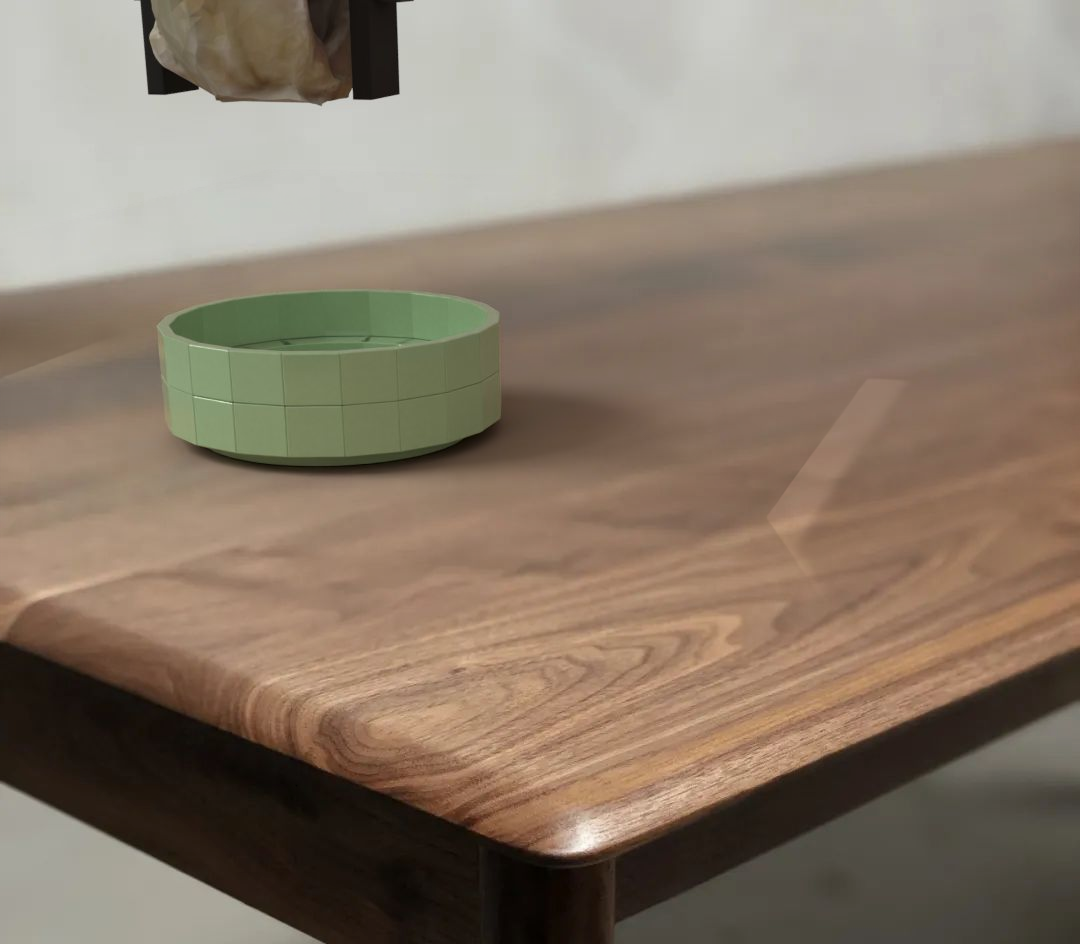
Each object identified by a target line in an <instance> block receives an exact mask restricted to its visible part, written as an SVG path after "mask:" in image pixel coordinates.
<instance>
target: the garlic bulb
mask: <svg viewBox="0 0 1080 944" xmlns="http://www.w3.org/2000/svg"><path fill="white" fill-rule="evenodd" d="M151 3H152V10H153V13H154V16H155V19H156V21H155V24H154V28H153V29H152V31H151V33H150V36H149V39H150V43H151V46H152V50H153V53H154V55H155V57H156V59H157V60H158V61H159V63H160V64H161V65H162V66H164V67H165V68H167V69H169V70H170V71H172V72H174V73H176V74H178V75H179V76H181V77H183V78H185V79H187V80H188V81H190V82H192V83H194V84H195V85H197V86H199V89H202V90H204V91H205V92H207V93H209V94H210V95H212V96H213V97H214V99H215V101H218V102H221V103H236V102H237V103H238V102H254V103H255V102H256V103H257V102H259V103H264V102H265V103H297V104H298V103H300V104H312V105H317V106H320V107H322V106H323V104H325V103H327V102H333V101H337V100H343V99H348V98H349V97H350V94H351V91H353V87H352V63H351V40H350V17H349V0H151Z"/></svg>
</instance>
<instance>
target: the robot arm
mask: <svg viewBox="0 0 1080 944" xmlns="http://www.w3.org/2000/svg"><path fill="white" fill-rule="evenodd" d="M135 1H137V2H138V1H139V3H140V13H141V14H140V15H141V25H142V37H143V38H142V39H143V50H144V60H145V61H144V62H145V75H146V85H147V95H149V96H151V95H152V96H167V95H168V96H169V95H174V94H175V95H176V94H181V93H186V92H191V91H198V90H200V87H199V86H197V85H195V84H194V83H192V82H190V81H188V80H187V79H185V78H183V77H181V76H179V75H178V74H176V73H174V72H172V71H170V70H169V69H167V68H165V67H164V66H162V65H161V64H160V63H159V61H158V60H157V59H156V57H155V55H154V53H153V50H152V46H151V43H150V39H149V36H150V33H151V31H152V29H153V28H154V24H155V21H156V19H155V16H154V13H153V10H152V3H151V0H135ZM407 2H415V0H349V17H350V40H351V63H352V87H353V88H352V100H353V101H374V100H379V99H383V98H389V97H394V96H398V95H401V94H400V91H401V90H400V89H401V88H400V64H399V62H400V61H399V33H398V30H399V29H398V4H397V3H407Z"/></svg>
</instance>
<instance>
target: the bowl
mask: <svg viewBox="0 0 1080 944" xmlns="http://www.w3.org/2000/svg"><path fill="white" fill-rule="evenodd" d="M156 335H157V336H156V337H157V346H158V358H159V367H160V369H159V370H160V380H161V389H162V401H163V402H162V403H163V412H164V413H163V414H164V422H165V425H167V427H168V429H169V431H170V433H171V434H172V435H173V436H174V437H177V438H178V439H181V440H182V441H184V442H188V443H190V444H192V445H195V446H198V447H201V448H202V447H203V448H207V449H209V450H210V451H212V452H214V453H216V454H218V455H222V456H224V457H228V458H231V459H236V460H241V461H246V462H253V463H260V464H266V465H277V466H291V467H293V466H294V467H338V466H339V467H340V466H355V465H356V466H358V465H369V464H370V465H371V464H377V463H386V462H392V461H393V462H394V461H400V460H404V459H410V458H411V459H412V458H415V457H419V456H423V455H428V454H432V453H434V452H438V451H441V450H444V449H446V448H449V447H451V446H454V445H456V444H458V443H459V442H461V441H462V440H465V438H468V437H471V436H474V435H477V434H480V433H482V432H484V431H485V430H486V429H488V428H489V427H490V426H492V425H493V424H495V423H496V422H498V421H500V420H501V417H502V407H503V406H502V405H503V404H502V402H503V401H502V361H501V360H502V358H501V357H502V355H501V353H502V352H501V313H500V311H498V310H497V309H495V308H493V307H492V306H490V305H489V304H487V303H485V302H483V301H478V300H474V299H471V298H470V299H469V298H466V297H462V296H460V295H459V296H458V295H452V294H445V293H438V292H437V293H436V292H428V291H420V290H407V289H385V288H323V289H306V290H293V291H279V292H278V291H277V292H267V293H259V294H258V293H257V294H251V295H243V296H235V297H228V298H223V299H217V300H213V301H209V302H205V303H204V302H203V303H199V304H195V305H191V306H189V307H185V308H183V309H181V310H178V311H175V312H172V313H170V314H167V315H166V316H165V317H164V318H163V319H161V321H160V322H159V323H157V325H156Z"/></svg>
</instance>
